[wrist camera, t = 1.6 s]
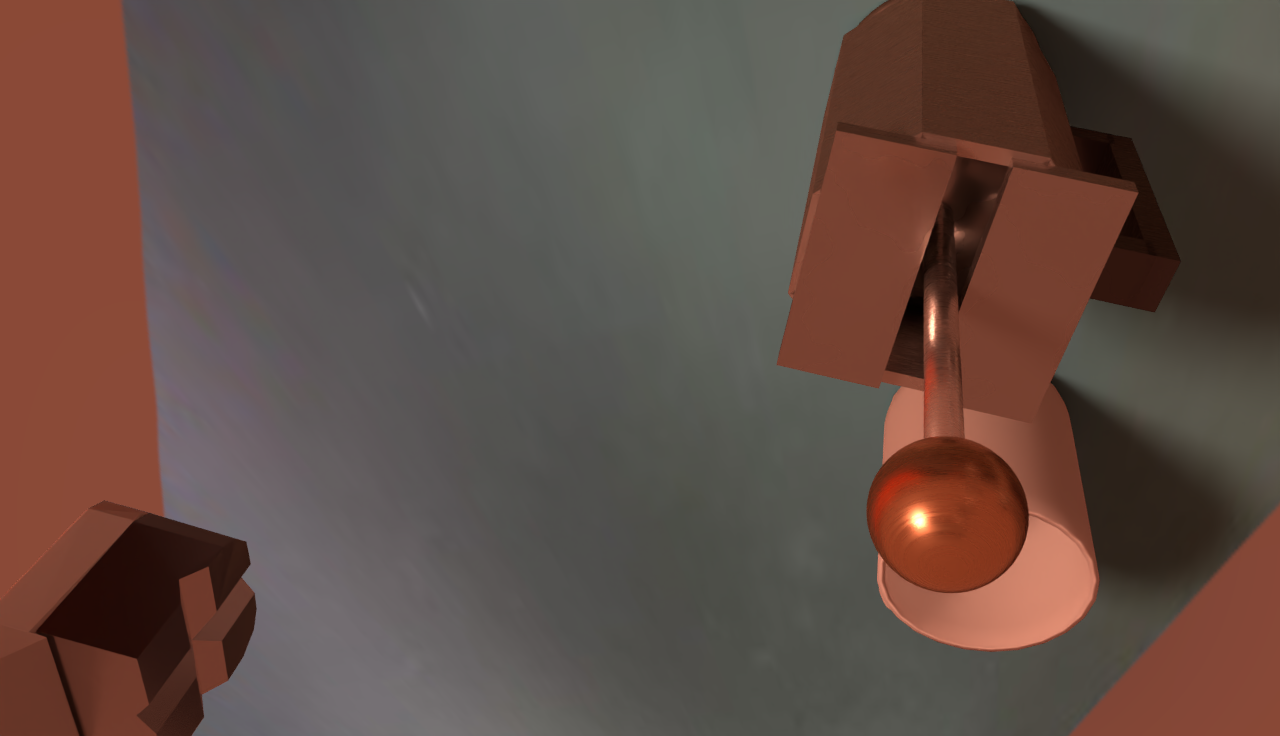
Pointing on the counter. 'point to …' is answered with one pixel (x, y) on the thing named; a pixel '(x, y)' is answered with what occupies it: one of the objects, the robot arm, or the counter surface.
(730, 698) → the counter surface
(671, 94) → the counter surface
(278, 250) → the counter surface
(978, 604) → the mug
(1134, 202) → the press carafe
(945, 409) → the copper ball on rod
